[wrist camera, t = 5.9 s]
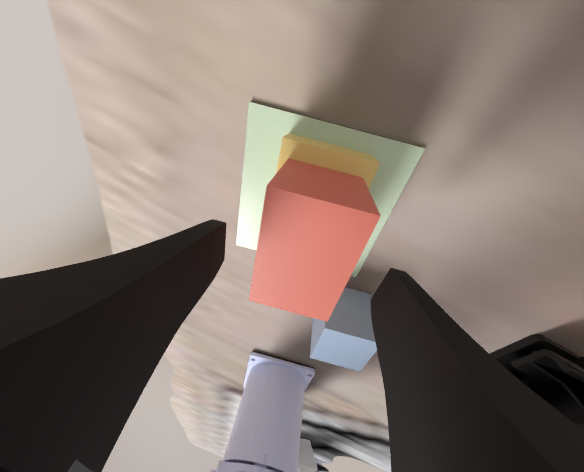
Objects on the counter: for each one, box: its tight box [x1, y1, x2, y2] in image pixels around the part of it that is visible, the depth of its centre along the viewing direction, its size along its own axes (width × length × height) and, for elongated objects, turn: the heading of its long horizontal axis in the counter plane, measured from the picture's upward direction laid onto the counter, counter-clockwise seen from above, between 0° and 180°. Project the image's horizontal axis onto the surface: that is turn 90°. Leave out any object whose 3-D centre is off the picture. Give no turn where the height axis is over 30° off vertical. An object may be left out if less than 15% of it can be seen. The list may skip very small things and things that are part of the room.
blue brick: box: [310, 287, 377, 372], centre depth 17 cm, size 4×4×4 cm
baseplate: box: [236, 102, 425, 278], centre depth 14 cm, size 10×10×1 cm
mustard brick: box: [276, 133, 380, 189], centre depth 13 cm, size 8×5×2 cm, turn 167°
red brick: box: [249, 158, 381, 322], centre depth 11 cm, size 6×4×4 cm, turn 167°
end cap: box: [490, 334, 584, 430], centre depth 17 cm, size 10×7×7 cm
